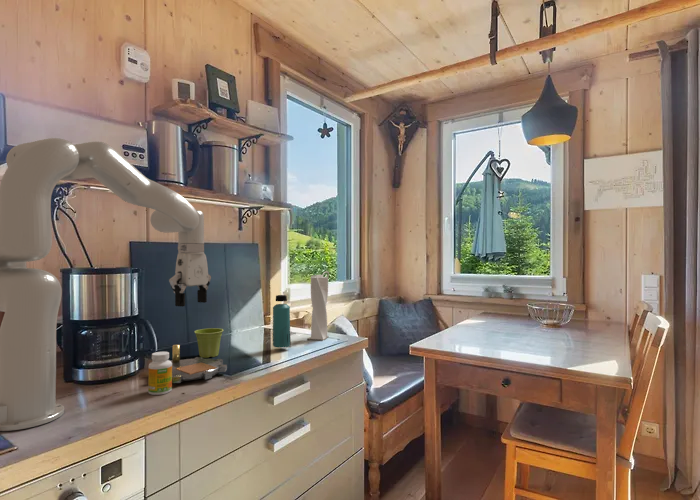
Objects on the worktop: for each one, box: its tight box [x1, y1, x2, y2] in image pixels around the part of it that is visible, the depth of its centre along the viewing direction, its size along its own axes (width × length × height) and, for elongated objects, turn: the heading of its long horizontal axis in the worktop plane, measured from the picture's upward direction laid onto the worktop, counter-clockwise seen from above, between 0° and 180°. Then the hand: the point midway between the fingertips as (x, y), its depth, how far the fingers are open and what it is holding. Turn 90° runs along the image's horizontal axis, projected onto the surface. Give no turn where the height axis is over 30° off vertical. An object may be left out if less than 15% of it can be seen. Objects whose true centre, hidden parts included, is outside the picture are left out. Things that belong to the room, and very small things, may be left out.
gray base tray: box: [169, 344, 228, 384], centre depth 117 cm, size 21×21×6 cm
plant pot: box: [194, 327, 224, 359], centre depth 140 cm, size 9×9×9 cm
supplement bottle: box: [147, 351, 173, 396], centre depth 103 cm, size 5×5×10 cm
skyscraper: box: [307, 270, 330, 341], centre depth 169 cm, size 8×8×28 cm
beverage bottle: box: [272, 294, 291, 349], centre depth 149 cm, size 6×7×20 cm
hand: (191, 304), depth 127 cm, fingers open, 9 cm apart
